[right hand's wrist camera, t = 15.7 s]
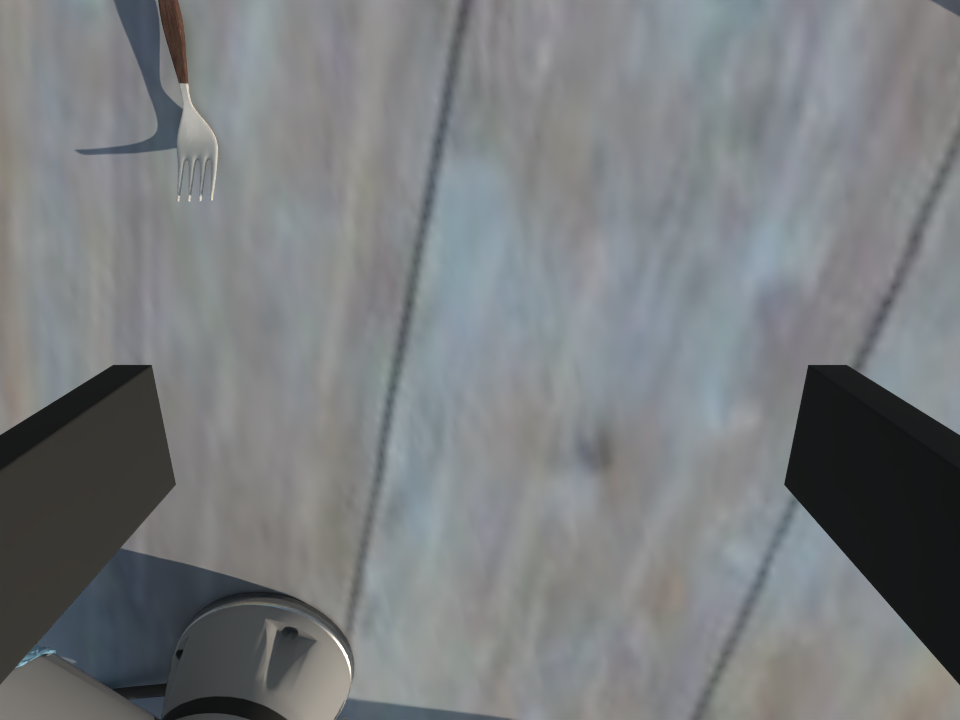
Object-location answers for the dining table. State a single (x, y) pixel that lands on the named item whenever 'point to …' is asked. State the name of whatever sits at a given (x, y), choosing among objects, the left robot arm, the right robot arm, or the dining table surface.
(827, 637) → the dining table surface
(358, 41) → the dining table surface
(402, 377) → the dining table surface
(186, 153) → the fork
